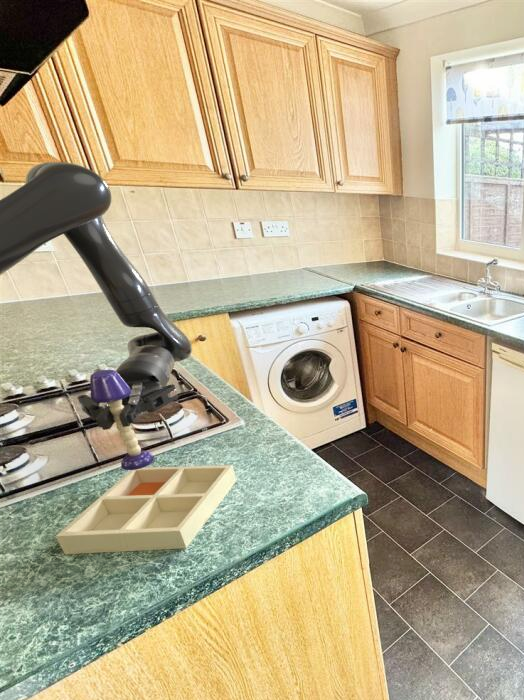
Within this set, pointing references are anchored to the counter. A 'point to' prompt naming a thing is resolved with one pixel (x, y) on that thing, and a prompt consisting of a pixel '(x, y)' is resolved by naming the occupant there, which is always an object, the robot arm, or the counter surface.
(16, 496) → the counter surface
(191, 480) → the grid
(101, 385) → the toy lamp
